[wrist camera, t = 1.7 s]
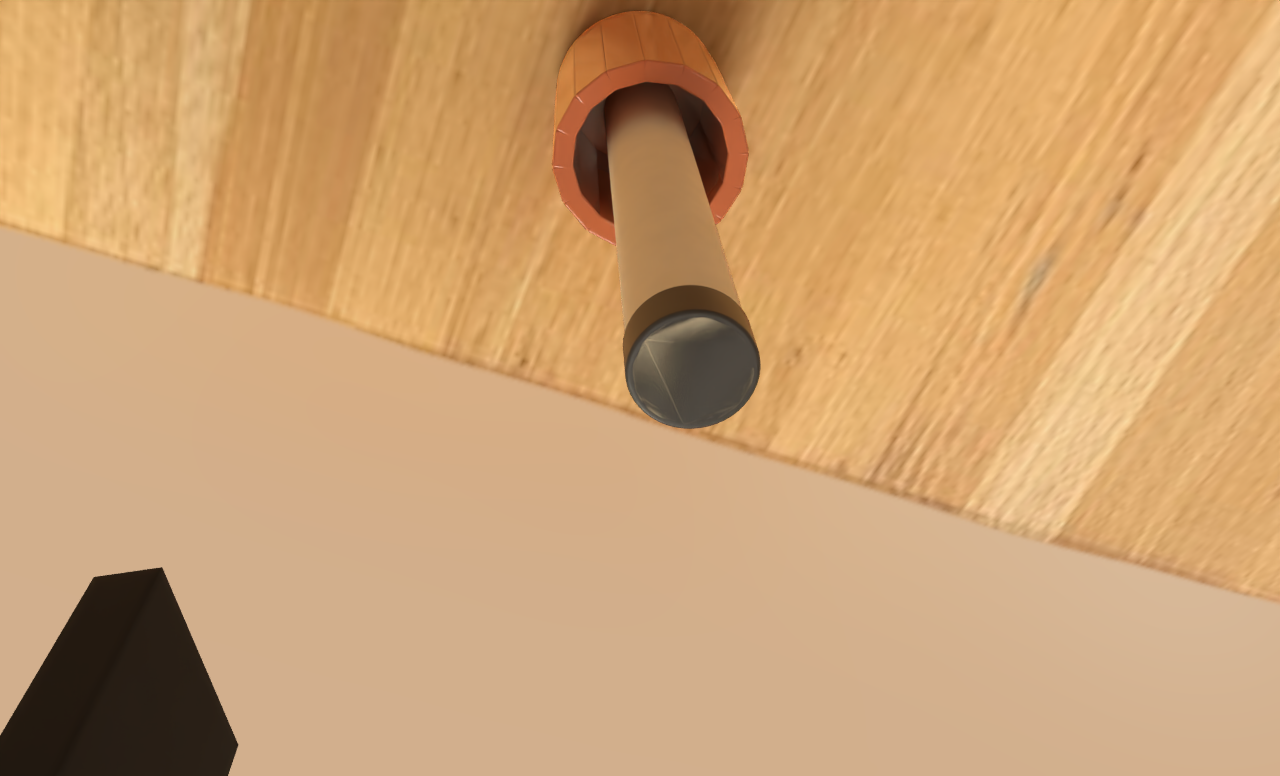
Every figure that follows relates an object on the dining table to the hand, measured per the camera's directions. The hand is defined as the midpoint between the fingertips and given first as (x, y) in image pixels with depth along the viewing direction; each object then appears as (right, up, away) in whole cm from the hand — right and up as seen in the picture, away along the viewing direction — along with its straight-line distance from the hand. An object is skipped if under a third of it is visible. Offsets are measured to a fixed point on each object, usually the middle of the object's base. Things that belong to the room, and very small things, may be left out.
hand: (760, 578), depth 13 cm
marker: (-1, +10, +18) cm, 21 cm away
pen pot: (-1, +11, +19) cm, 22 cm away
